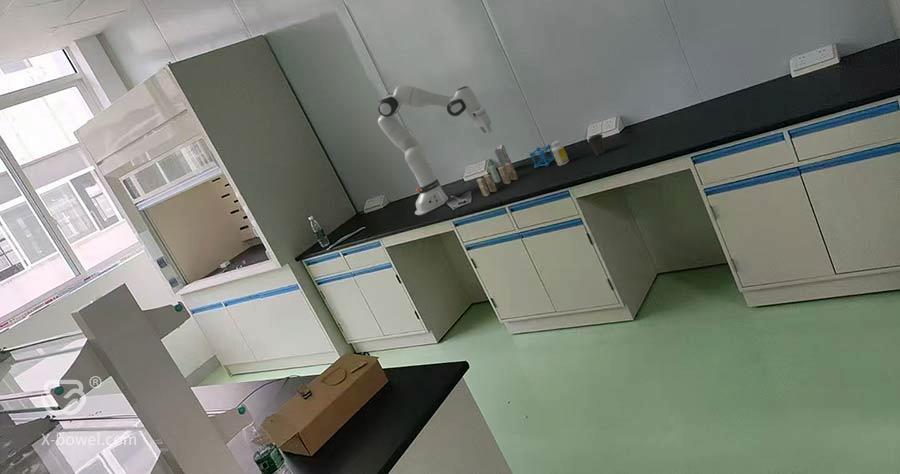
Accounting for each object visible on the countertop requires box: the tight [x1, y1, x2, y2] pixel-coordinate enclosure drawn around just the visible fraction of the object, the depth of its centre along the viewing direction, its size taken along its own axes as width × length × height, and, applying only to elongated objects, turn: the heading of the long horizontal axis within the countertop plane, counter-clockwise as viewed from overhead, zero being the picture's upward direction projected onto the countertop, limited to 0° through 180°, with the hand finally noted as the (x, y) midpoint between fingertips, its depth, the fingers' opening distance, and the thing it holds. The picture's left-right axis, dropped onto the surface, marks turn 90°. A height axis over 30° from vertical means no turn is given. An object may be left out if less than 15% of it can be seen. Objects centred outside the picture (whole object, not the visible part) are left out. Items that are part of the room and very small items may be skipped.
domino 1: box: [476, 177, 491, 197], centre depth 361 cm, size 2×5×10 cm, turn 24°
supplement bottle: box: [550, 140, 570, 167], centre depth 352 cm, size 7×7×13 cm
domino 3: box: [497, 166, 512, 185], centre depth 366 cm, size 2×5×10 cm, turn 24°
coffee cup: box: [587, 133, 606, 156], centre depth 339 cm, size 8×8×10 cm
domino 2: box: [483, 173, 498, 193], centre depth 363 cm, size 2×5×10 cm, turn 25°
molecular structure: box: [529, 144, 556, 169], centre depth 368 cm, size 10×10×10 cm
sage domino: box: [487, 165, 502, 183], centre depth 379 cm, size 2×5×10 cm, turn 24°
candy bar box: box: [494, 143, 512, 173], centre depth 388 cm, size 11×5×16 cm, turn 168°
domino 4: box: [505, 162, 519, 181], centre depth 367 cm, size 2×5×10 cm, turn 24°
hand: (487, 132), depth 372 cm, fingers open, 8 cm apart
